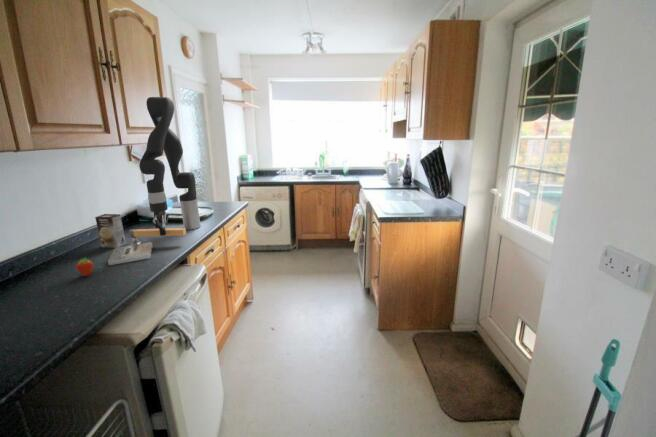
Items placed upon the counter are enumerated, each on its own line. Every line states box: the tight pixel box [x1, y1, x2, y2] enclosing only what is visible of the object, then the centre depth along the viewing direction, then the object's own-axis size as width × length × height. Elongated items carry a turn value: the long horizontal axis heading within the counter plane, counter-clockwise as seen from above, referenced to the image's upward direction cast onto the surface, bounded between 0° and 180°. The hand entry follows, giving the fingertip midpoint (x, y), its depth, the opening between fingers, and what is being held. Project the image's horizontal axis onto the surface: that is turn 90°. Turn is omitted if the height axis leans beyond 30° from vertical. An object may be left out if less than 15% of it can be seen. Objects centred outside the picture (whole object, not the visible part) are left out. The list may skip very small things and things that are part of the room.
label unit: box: [107, 242, 154, 266], centre depth 145 cm, size 18×16×2 cm
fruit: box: [76, 257, 94, 277], centre depth 124 cm, size 5×5×8 cm
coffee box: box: [94, 213, 127, 248], centre depth 157 cm, size 9×6×16 cm
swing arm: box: [128, 227, 187, 238], centre depth 157 cm, size 28×4×3 cm, turn 91°
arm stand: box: [129, 237, 142, 246], centre depth 158 cm, size 5×5×4 cm
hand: (163, 235), depth 154 cm, fingers closed
